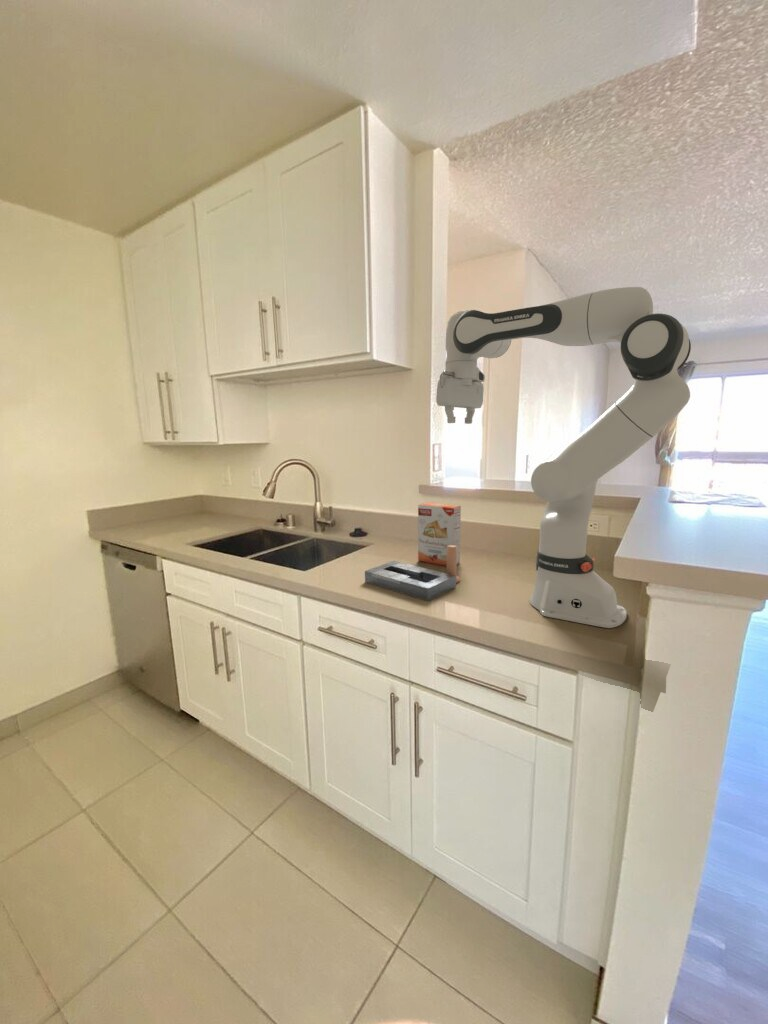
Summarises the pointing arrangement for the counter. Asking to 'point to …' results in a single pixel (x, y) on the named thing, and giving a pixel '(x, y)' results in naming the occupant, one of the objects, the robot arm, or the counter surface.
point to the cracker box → (438, 531)
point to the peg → (452, 561)
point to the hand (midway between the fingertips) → (460, 423)
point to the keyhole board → (411, 580)
